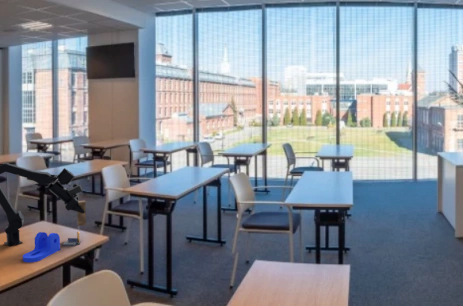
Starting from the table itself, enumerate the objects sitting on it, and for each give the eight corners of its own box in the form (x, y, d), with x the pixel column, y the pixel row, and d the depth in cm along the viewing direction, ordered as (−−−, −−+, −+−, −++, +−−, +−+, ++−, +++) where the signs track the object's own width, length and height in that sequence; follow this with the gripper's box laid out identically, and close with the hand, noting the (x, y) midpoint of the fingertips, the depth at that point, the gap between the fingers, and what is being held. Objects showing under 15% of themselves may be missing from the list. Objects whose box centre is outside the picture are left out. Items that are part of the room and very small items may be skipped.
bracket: (44, 248, 215) (43, 230, 214) (60, 250, 213) (59, 231, 212) (18, 261, 197) (17, 241, 196) (35, 263, 195) (34, 243, 194)
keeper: (62, 245, 218) (62, 233, 218) (67, 241, 224) (66, 230, 224) (78, 245, 218) (77, 233, 218) (82, 241, 224) (81, 230, 224)
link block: (77, 225, 229) (76, 202, 227) (77, 223, 232) (76, 200, 231) (85, 225, 230) (85, 202, 229) (85, 223, 234) (85, 200, 232)
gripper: (72, 183, 218) (96, 204, 223) (72, 176, 236) (94, 196, 241) (55, 200, 217) (79, 220, 222) (56, 192, 234) (79, 211, 239)
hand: (84, 211), depth 231 cm, fingers closed on link block, 4 cm apart
